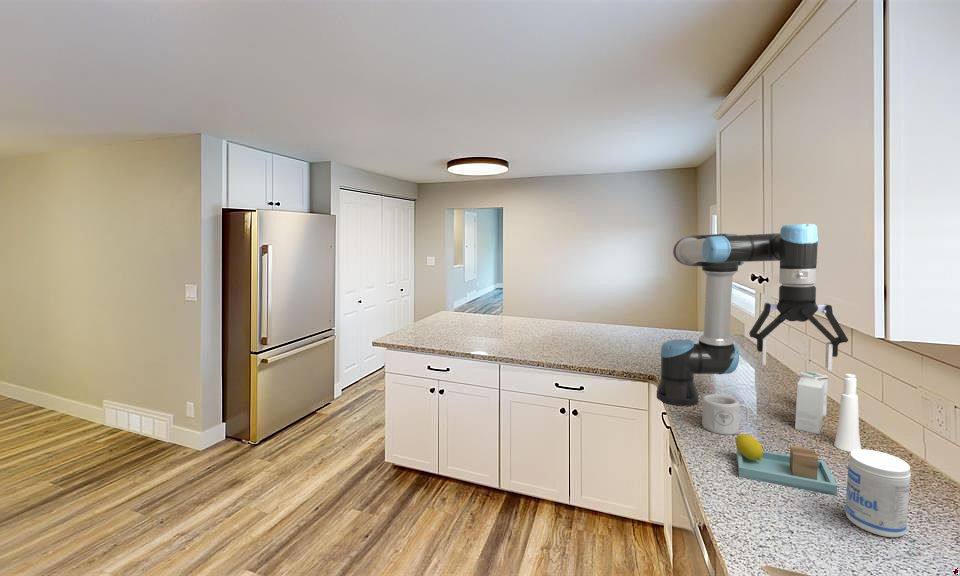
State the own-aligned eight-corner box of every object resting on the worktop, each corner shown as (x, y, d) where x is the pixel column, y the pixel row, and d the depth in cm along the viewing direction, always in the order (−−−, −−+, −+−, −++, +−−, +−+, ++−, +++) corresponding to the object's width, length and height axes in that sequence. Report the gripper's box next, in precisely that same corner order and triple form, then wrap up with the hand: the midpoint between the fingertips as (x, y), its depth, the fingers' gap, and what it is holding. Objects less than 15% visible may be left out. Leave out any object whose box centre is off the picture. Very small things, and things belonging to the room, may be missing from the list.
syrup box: (797, 411, 149) (798, 372, 148) (811, 410, 150) (812, 370, 149) (813, 418, 144) (814, 376, 142) (827, 416, 145) (828, 375, 143)
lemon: (753, 466, 112) (730, 440, 116) (751, 465, 117) (728, 440, 121) (771, 455, 111) (747, 428, 115) (768, 454, 116) (745, 428, 120)
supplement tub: (835, 518, 92) (838, 454, 91) (859, 506, 96) (862, 444, 95) (893, 545, 83) (896, 475, 82) (916, 531, 87) (920, 463, 86)
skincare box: (799, 421, 142) (800, 376, 140) (824, 426, 137) (825, 380, 136) (794, 429, 136) (795, 382, 134) (820, 435, 131) (822, 386, 130)
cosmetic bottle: (865, 449, 121) (868, 375, 119) (855, 454, 118) (858, 379, 116) (840, 441, 127) (842, 370, 125) (830, 446, 124) (832, 373, 122)
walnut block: (789, 467, 112) (790, 445, 112) (813, 471, 110) (813, 449, 109) (792, 476, 108) (793, 453, 107) (817, 480, 105) (817, 457, 105)
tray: (736, 454, 121) (736, 446, 121) (824, 469, 111) (824, 460, 111) (738, 476, 110) (739, 467, 110) (836, 495, 100) (837, 485, 100)
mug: (705, 433, 136) (705, 403, 135) (699, 420, 146) (699, 392, 145) (753, 437, 131) (754, 406, 130) (743, 423, 141) (744, 395, 141)
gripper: (740, 286, 110) (739, 365, 111) (866, 286, 97) (862, 375, 99) (739, 283, 116) (738, 358, 118) (856, 283, 104) (853, 367, 106)
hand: (795, 366), depth 109 cm, fingers open, 13 cm apart
